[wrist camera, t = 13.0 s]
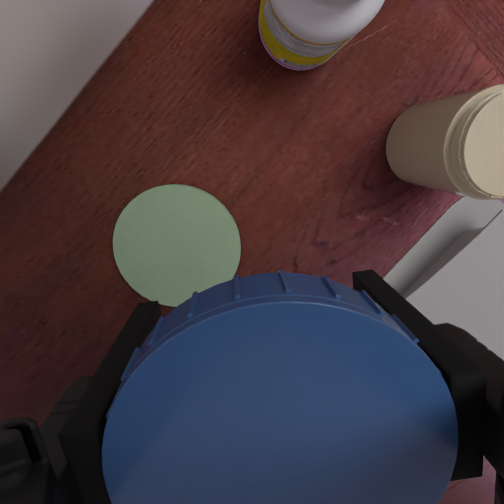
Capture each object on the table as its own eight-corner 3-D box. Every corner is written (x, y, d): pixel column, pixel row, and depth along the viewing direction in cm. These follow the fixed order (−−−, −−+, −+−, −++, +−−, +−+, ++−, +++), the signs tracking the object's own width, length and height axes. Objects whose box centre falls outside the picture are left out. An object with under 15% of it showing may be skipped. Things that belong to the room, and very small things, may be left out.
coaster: (101, 192, 31) (98, 193, 30) (231, 175, 31) (231, 176, 30) (129, 311, 34) (127, 314, 33) (248, 296, 34) (248, 298, 34)
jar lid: (421, 506, 10) (454, 569, 9) (153, 542, 10) (139, 613, 9) (426, 249, 8) (471, 274, 7) (88, 291, 8) (54, 326, 7)
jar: (384, 106, 30) (459, 87, 20) (467, 96, 30) (582, 71, 20) (386, 190, 32) (455, 210, 22) (463, 180, 32) (567, 195, 22)
